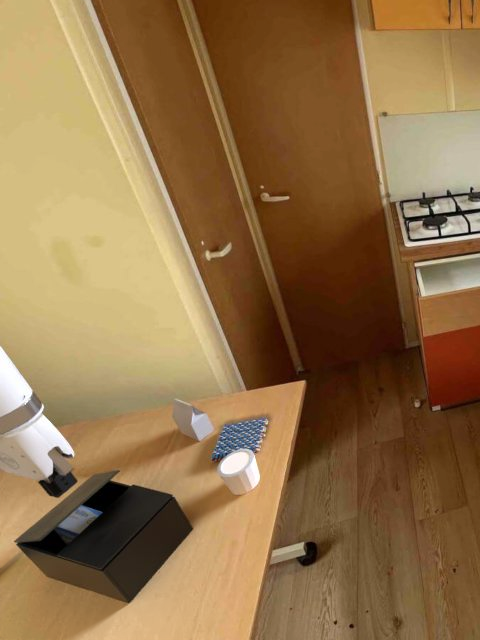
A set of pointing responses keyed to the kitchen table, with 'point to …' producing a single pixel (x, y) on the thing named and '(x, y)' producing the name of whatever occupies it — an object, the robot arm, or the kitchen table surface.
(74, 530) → the medicine box
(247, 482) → the white short cylinder
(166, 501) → the black flap box
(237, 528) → the kitchen table surface
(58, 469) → the robot arm
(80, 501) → the flap
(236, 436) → the woven mat
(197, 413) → the white gable carton
